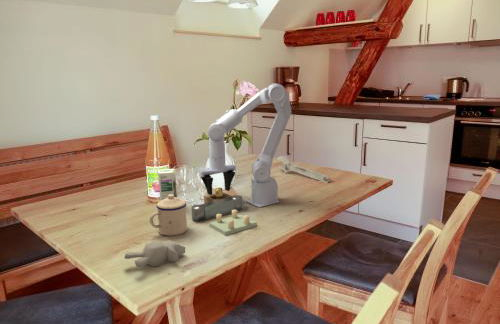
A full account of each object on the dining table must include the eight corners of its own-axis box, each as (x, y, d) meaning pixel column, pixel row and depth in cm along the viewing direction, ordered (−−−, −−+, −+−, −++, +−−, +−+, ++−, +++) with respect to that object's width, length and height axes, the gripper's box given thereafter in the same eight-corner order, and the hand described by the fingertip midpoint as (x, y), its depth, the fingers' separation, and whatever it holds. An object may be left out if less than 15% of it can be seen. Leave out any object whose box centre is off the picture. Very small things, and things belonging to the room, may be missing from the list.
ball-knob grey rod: (237, 206, 146) (237, 194, 145) (245, 209, 143) (244, 197, 142) (189, 219, 135) (189, 206, 133) (196, 223, 131) (195, 209, 130)
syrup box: (161, 212, 141) (158, 173, 138) (160, 207, 147) (157, 169, 143) (177, 210, 143) (175, 171, 139) (176, 205, 148) (173, 167, 145)
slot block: (222, 199, 154) (222, 191, 154) (234, 204, 148) (233, 196, 148) (204, 203, 150) (204, 195, 149) (215, 209, 144) (215, 201, 143)
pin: (220, 202, 151) (220, 187, 149) (224, 204, 148) (223, 188, 147) (214, 204, 149) (213, 188, 148) (218, 205, 147) (217, 189, 146)
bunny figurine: (191, 244, 106) (139, 256, 96) (190, 263, 107) (139, 277, 96) (172, 234, 113) (121, 245, 102) (171, 251, 114) (121, 264, 103)
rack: (240, 217, 135) (239, 207, 134) (256, 225, 128) (256, 215, 127) (209, 226, 128) (209, 215, 127) (225, 235, 121) (224, 224, 120)
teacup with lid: (178, 222, 132) (176, 188, 129) (193, 230, 125) (191, 195, 122) (144, 232, 124) (141, 196, 122) (158, 241, 118) (155, 204, 115)
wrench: (327, 189, 174) (275, 170, 194) (329, 188, 175) (277, 169, 195) (329, 172, 172) (276, 154, 191) (331, 171, 173) (279, 154, 193)
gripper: (227, 151, 152) (229, 186, 155) (194, 157, 144) (196, 193, 147) (238, 154, 147) (239, 190, 150) (204, 160, 138) (205, 198, 141)
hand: (218, 192), depth 148 cm, fingers open, 7 cm apart
